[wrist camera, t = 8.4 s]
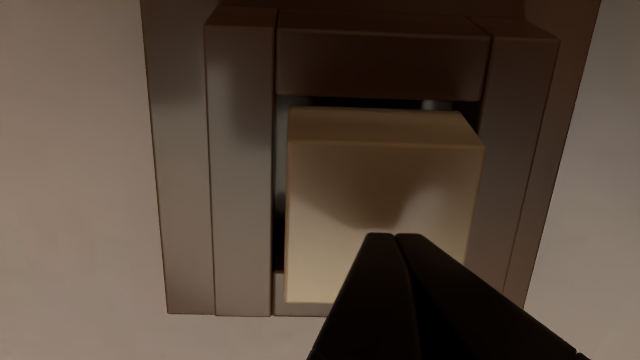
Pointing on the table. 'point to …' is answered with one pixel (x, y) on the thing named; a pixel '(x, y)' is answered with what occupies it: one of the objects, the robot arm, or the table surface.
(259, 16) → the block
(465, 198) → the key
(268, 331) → the table surface
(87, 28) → the table surface
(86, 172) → the table surface
